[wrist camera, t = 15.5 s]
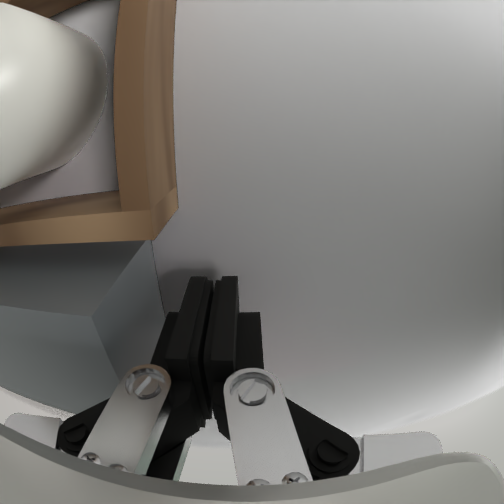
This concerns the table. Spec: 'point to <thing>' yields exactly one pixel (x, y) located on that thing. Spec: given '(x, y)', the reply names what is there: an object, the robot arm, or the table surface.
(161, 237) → the table surface
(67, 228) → the wooden compartment tray
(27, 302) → the grey rectangular block
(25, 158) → the white rounded lump
